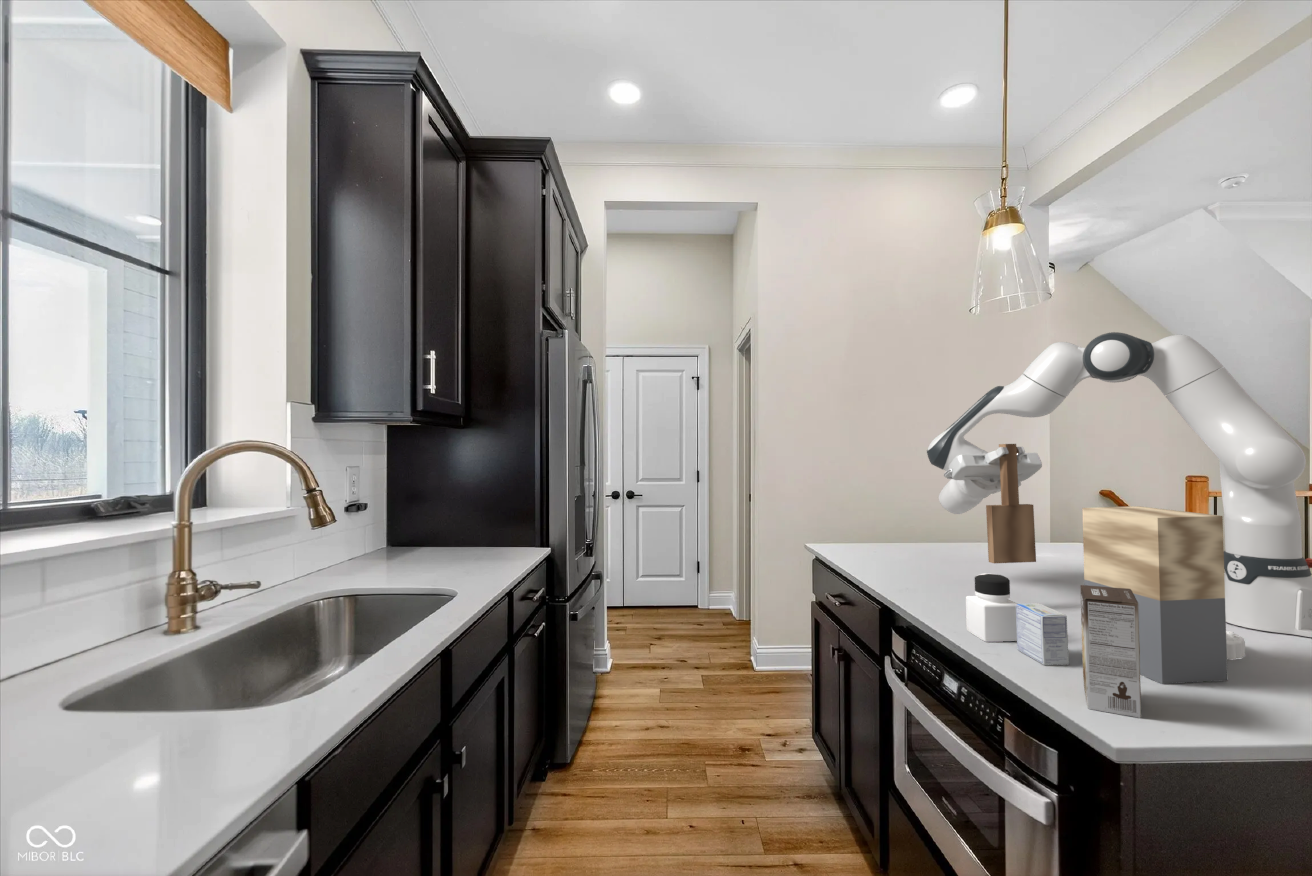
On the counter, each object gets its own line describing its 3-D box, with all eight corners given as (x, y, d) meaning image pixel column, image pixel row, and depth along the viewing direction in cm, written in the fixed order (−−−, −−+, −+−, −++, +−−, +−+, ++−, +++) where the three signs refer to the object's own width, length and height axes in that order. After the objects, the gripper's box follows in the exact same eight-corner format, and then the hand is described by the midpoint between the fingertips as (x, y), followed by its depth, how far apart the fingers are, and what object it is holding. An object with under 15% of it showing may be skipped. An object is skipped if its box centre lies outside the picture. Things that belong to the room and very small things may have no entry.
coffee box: (1081, 686, 93) (1079, 583, 93) (1134, 695, 89) (1131, 588, 90) (1086, 709, 85) (1083, 596, 85) (1144, 719, 82) (1140, 602, 82)
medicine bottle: (1022, 641, 114) (1020, 579, 114) (984, 642, 114) (983, 579, 114) (1001, 630, 121) (999, 571, 121) (965, 630, 121) (964, 571, 121)
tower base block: (1143, 648, 109) (1140, 577, 109) (1227, 680, 94) (1224, 598, 94) (1086, 650, 108) (1084, 579, 108) (1162, 683, 93) (1159, 600, 93)
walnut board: (1024, 443, 139) (1031, 443, 136) (1030, 560, 137) (1037, 562, 135) (983, 444, 138) (990, 444, 135) (988, 561, 137) (995, 563, 134)
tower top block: (1140, 577, 109) (1138, 506, 109) (1224, 598, 94) (1222, 515, 94) (1084, 579, 108) (1082, 507, 108) (1159, 600, 93) (1157, 517, 93)
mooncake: (1181, 658, 104) (1180, 638, 104) (1142, 637, 116) (1141, 618, 116) (1264, 663, 101) (1263, 642, 101) (1215, 640, 113) (1215, 621, 113)
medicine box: (1069, 665, 101) (1068, 614, 101) (1043, 666, 101) (1041, 615, 102) (1040, 649, 109) (1039, 602, 109) (1016, 650, 109) (1015, 602, 109)
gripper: (936, 466, 148) (964, 438, 136) (1015, 464, 149) (1049, 436, 137) (944, 489, 145) (973, 462, 133) (1024, 487, 146) (1060, 460, 134)
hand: (1013, 449), depth 135 cm, fingers closed on walnut board, 2 cm apart
